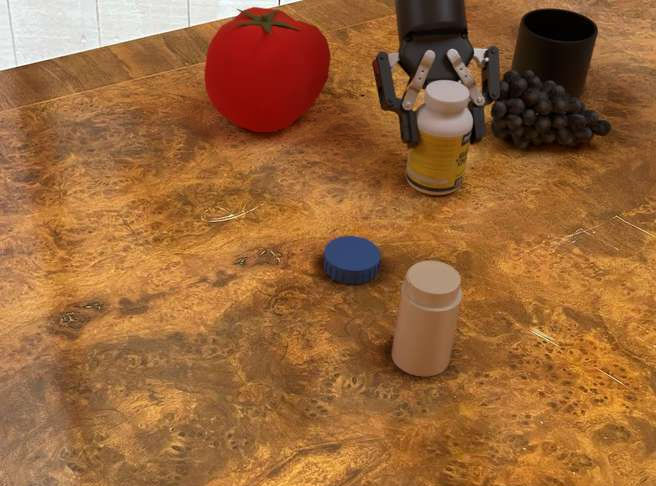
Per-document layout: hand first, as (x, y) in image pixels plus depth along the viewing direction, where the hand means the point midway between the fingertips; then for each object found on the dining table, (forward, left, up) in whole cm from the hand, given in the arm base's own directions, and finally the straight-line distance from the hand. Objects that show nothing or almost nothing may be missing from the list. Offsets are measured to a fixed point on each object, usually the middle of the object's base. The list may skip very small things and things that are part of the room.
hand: (444, 144), depth 116 cm
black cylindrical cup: (-17, -25, -6) cm, 30 cm away
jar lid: (+10, +14, -4) cm, 18 cm away
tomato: (+19, -15, -6) cm, 25 cm away
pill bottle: (0, -2, -6) cm, 6 cm away
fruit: (-14, -11, -6) cm, 18 cm away
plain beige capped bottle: (+5, +27, -6) cm, 28 cm away
